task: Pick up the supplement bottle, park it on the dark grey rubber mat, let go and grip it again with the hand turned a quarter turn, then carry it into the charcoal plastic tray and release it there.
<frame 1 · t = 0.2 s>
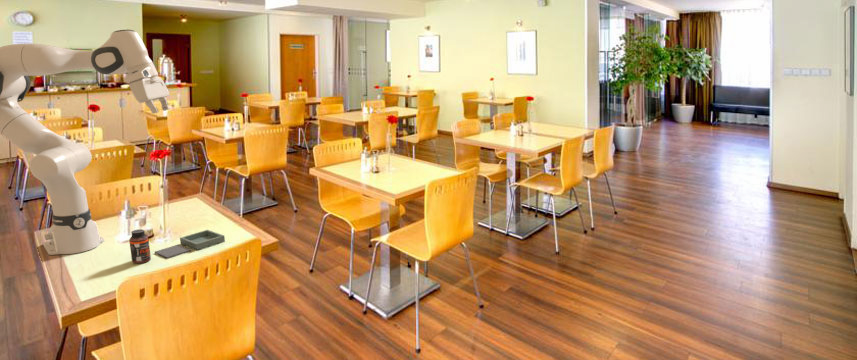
hand: (161, 111, 191), 51 cm above the table, tool tilted 20°, fingers open, 8 cm apart
supplement bottle: (141, 261, 189), on the table
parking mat: (173, 252, 197), on the table
tray: (202, 242, 206), on the table
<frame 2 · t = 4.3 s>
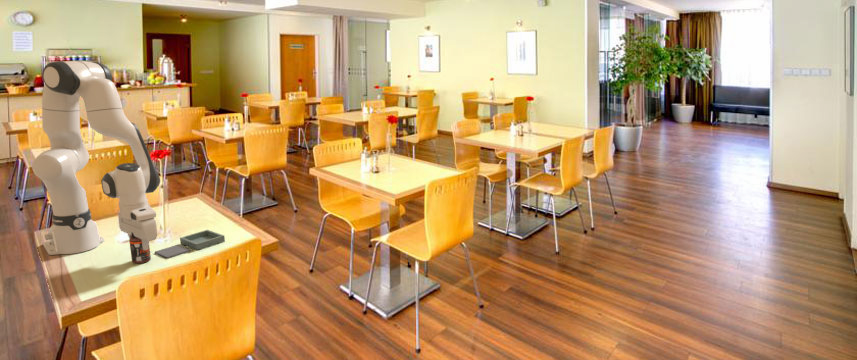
hand: (140, 247, 187), 5 cm above the table, tool pointing down, fingers closed on supplement bottle, 6 cm apart
supplement bottle: (141, 261, 189), on the table, touching gripper
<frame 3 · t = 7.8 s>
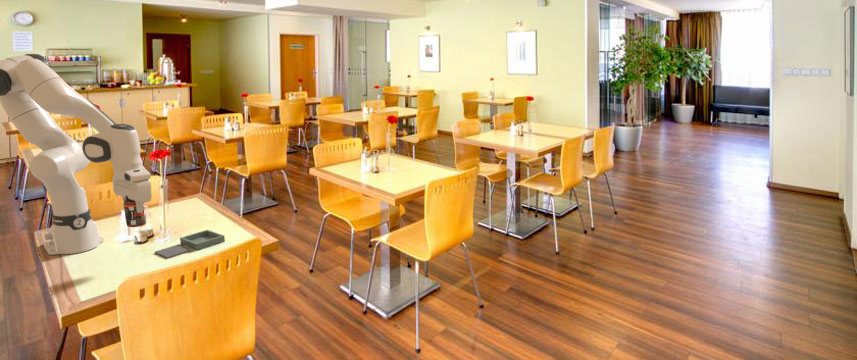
hand: (134, 210, 184), 19 cm above the table, tool pointing down, fingers closed on supplement bottle, 6 cm apart
supplement bottle: (136, 225, 185), point 13 cm above the table, touching gripper
when the fingers open (7 cm above the table, at t = 11.6 s): supplement bottle stays where it is, resting on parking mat.
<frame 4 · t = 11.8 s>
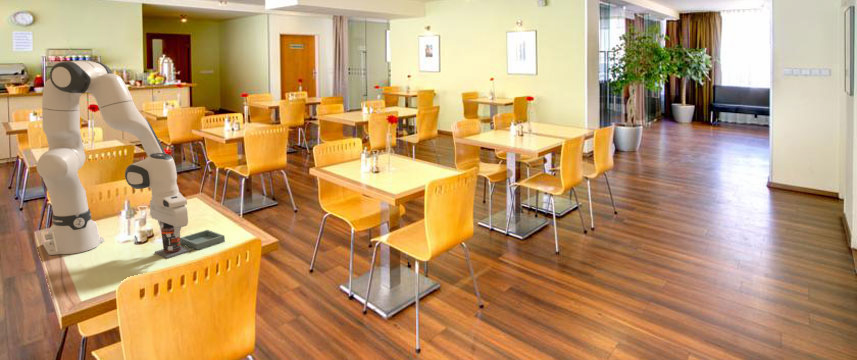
hand: (170, 233, 195), 7 cm above the table, tool pointing down, fingers open, 7 cm apart
supplement bottle: (172, 251, 197), resting on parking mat
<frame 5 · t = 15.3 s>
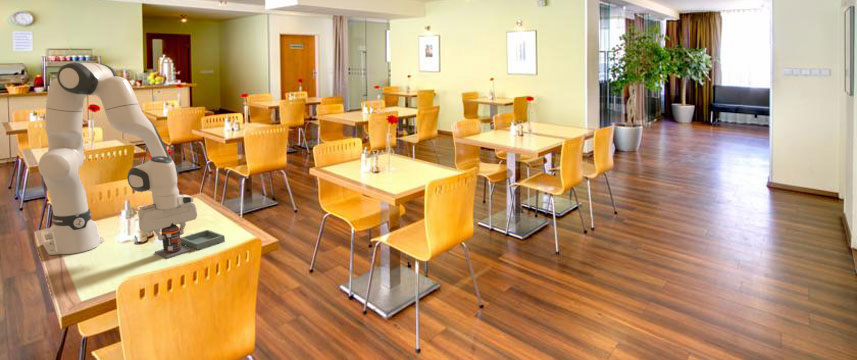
hand: (171, 237, 195), 6 cm above the table, tool pointing down, fingers closed on supplement bottle, 6 cm apart
supplement bottle: (172, 251, 197), resting on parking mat, touching gripper
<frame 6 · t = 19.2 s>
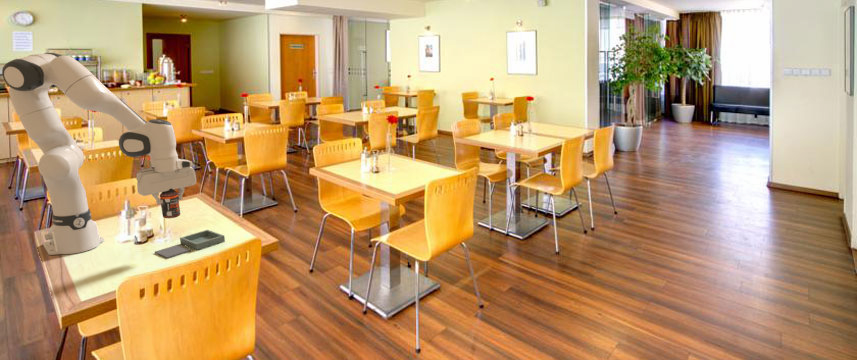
hand: (170, 201, 193), 19 cm above the table, tool pointing down, fingers closed on supplement bottle, 6 cm apart
supplement bottle: (171, 216, 194), point 13 cm above the table, touching gripper
when the fingers open (7 cm above the table, at t = 22.8 s): supplement bottle stays where it is, resting on tray.
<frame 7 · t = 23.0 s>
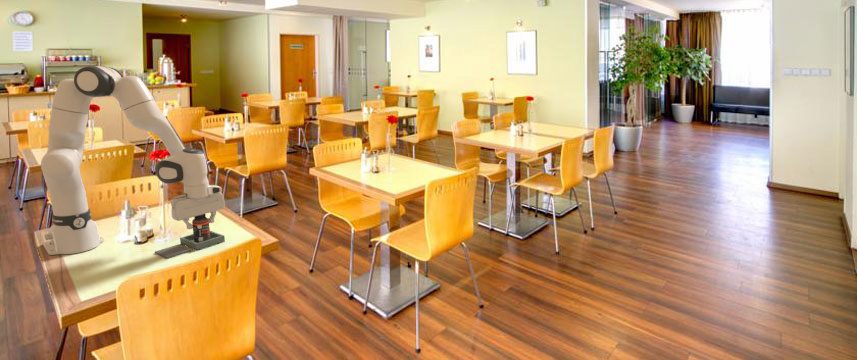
hand: (200, 225, 204), 7 cm above the table, tool pointing down, fingers open, 8 cm apart
supplement bottle: (202, 241, 206), resting on tray
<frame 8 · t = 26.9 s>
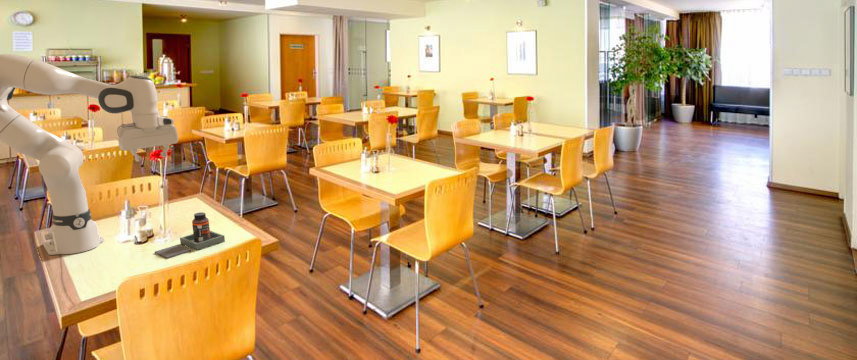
hand: (151, 159, 194), 34 cm above the table, tool pointing down, fingers open, 8 cm apart
nothing on the table moved.
at the end: supplement bottle 0.1 cm off-centre on the tray, point 0.3 cm above the tray's base; supplement bottle tilted 0°; the gripper is holding nothing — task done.
